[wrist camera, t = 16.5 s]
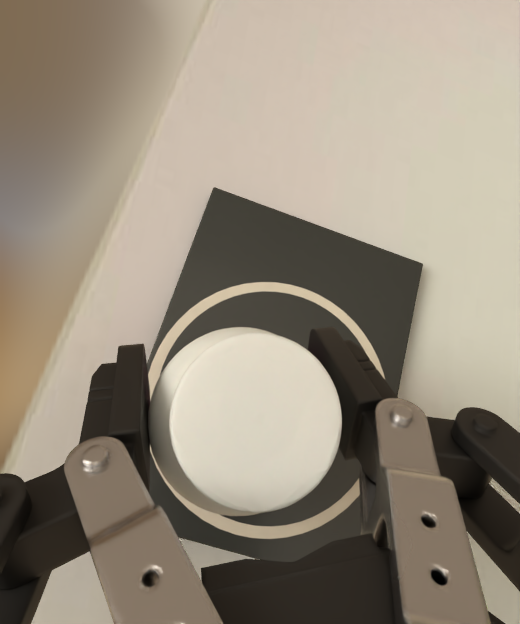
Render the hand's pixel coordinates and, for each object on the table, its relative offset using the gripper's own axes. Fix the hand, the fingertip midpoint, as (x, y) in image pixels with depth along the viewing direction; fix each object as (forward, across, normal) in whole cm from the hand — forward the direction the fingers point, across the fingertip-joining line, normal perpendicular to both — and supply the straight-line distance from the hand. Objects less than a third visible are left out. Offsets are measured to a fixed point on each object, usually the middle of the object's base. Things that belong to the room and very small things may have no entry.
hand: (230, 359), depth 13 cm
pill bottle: (+3, 0, +5) cm, 6 cm away
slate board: (+5, -3, +5) cm, 7 cm away
